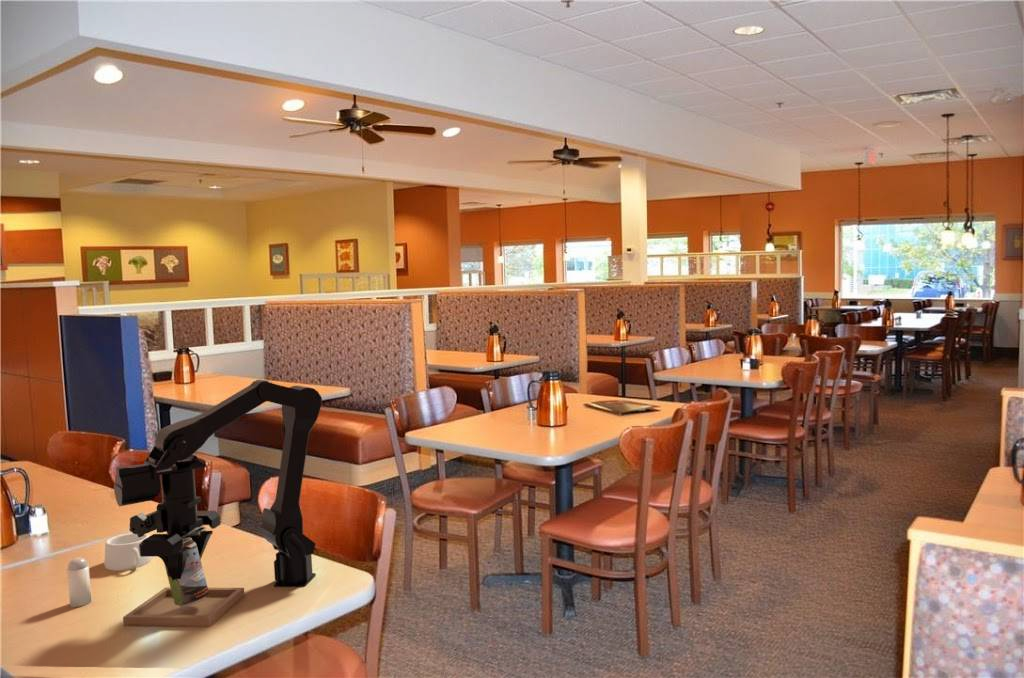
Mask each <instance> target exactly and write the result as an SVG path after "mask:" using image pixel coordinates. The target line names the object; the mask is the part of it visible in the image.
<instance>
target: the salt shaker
mask: <svg viewBox="0 0 1024 678" xmlns="http://www.w3.org/2000/svg"><path fill="white" fill-rule="evenodd" d="M90 579H91V577H90V565H89V563H88V561H87V560H86V558H84V557H78V556H77V557H75V558H72V559H71V560H70V561H69V563H68V564H67V581H68V597H69V606H70V607H71V608H79V607H84V606H88V605H89V604H91V603H92V592H91V581H90Z"/></svg>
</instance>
